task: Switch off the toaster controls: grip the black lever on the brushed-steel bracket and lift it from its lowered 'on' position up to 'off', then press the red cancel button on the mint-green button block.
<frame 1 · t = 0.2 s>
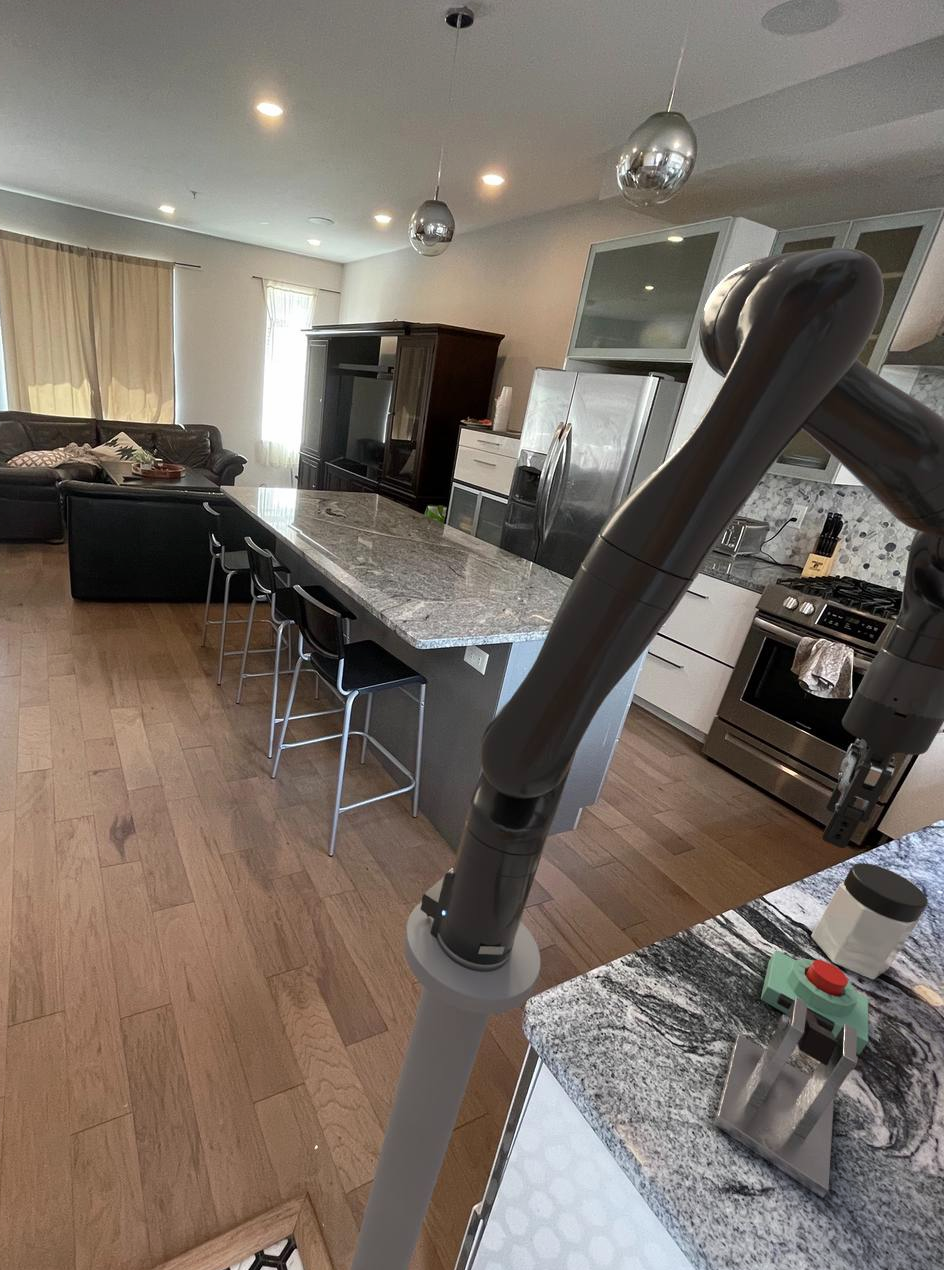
hand: (834, 827, 71), 22 cm above the counter, tool pointing down, fingers open, 8 cm apart
jar: (847, 954, 85), on the counter
button block: (810, 1005, 76), on the counter
cancel button: (826, 977, 74), point 5 cm above the counter, slide at 0.2 cm
lever: (810, 1027, 62), point 8 cm above the counter, hinge at -25.0°
bracket: (773, 1111, 62), on the counter
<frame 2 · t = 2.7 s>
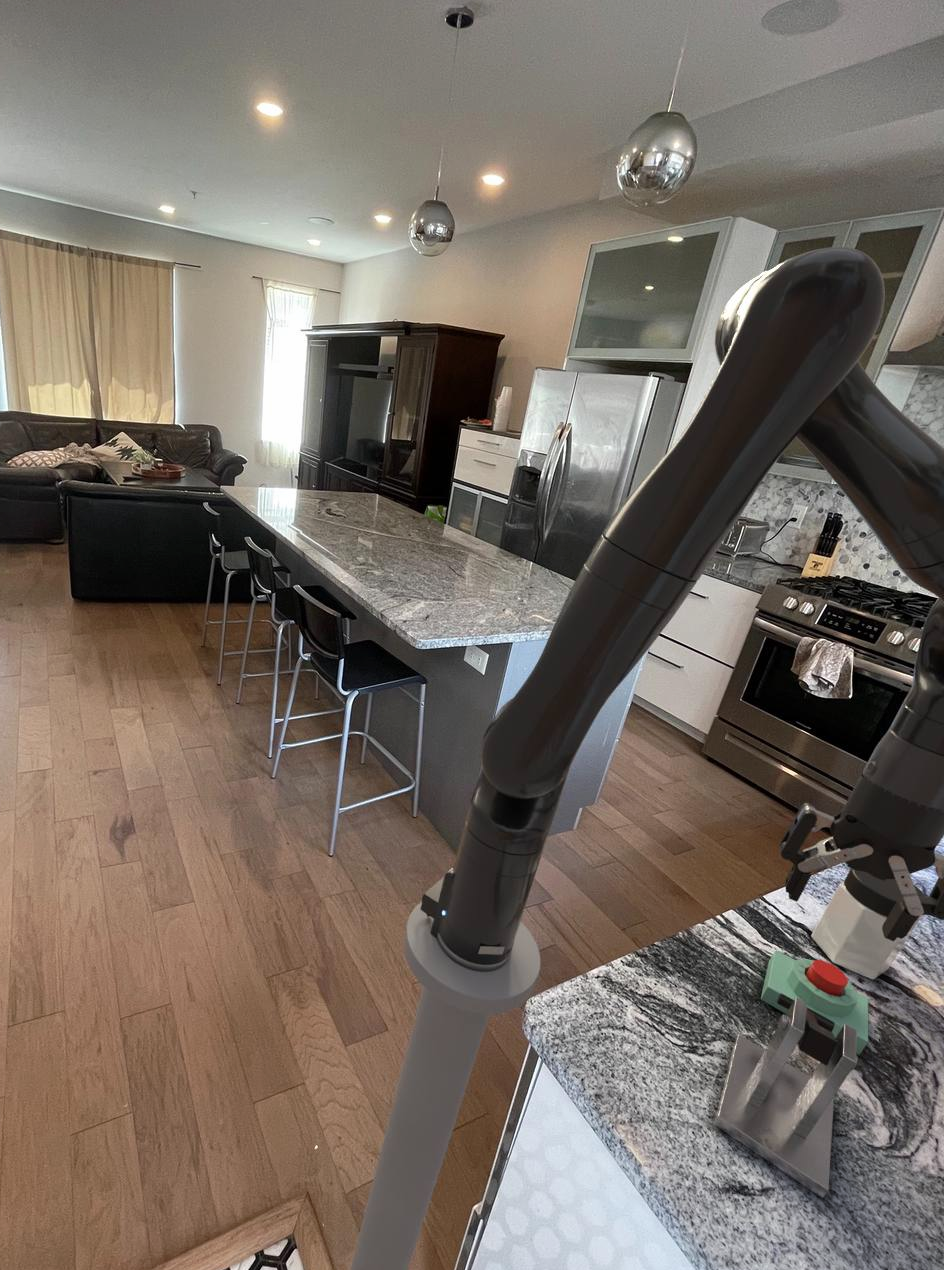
hand: (838, 915, 66), 16 cm above the counter, tool pointing down, fingers open, 8 cm apart
nothing on the counter moved.
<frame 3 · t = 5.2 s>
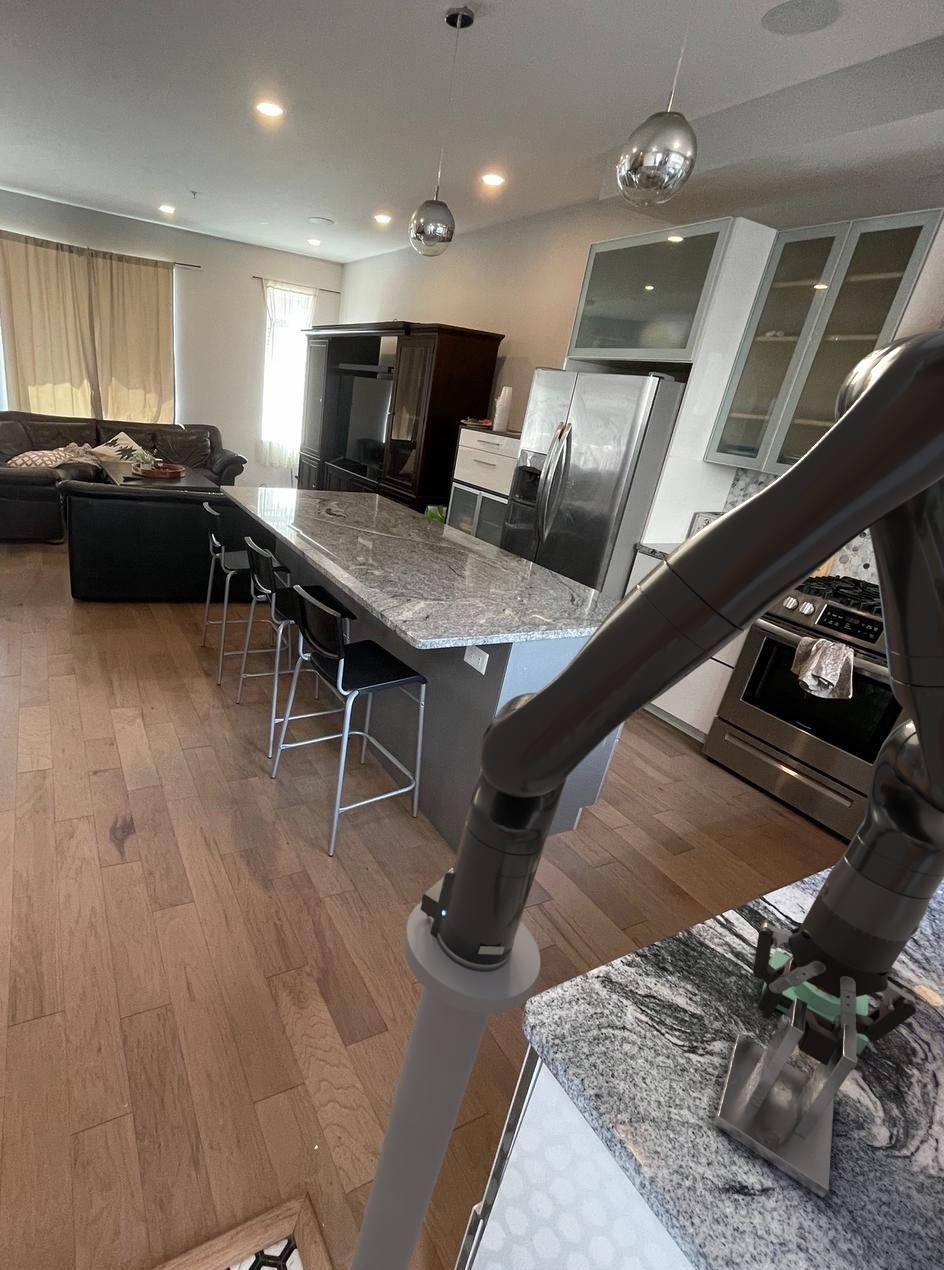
hand: (794, 1029, 68), 3 cm above the counter, tool pointing down, fingers closed on lever, 5 cm apart
lever: (810, 1027, 62), point 8 cm above the counter, hinge at -25.1°, touching gripper
everything else where it was.
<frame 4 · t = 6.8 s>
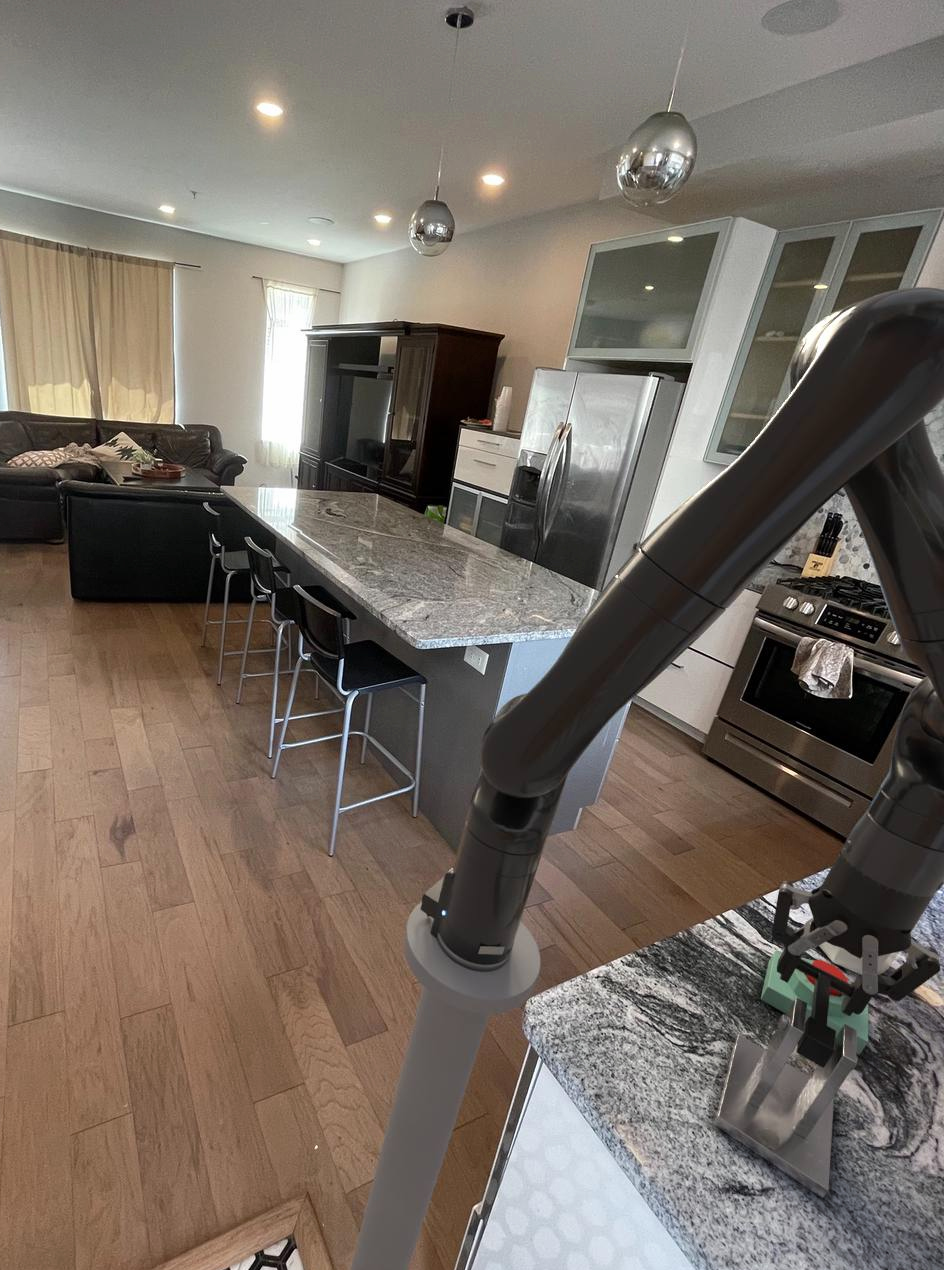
hand: (814, 992, 67), 8 cm above the counter, tool pointing down, fingers closed on lever, 5 cm apart
lever: (819, 1009, 62), point 10 cm above the counter, hinge at 1.5°, touching gripper
everything else where it was.
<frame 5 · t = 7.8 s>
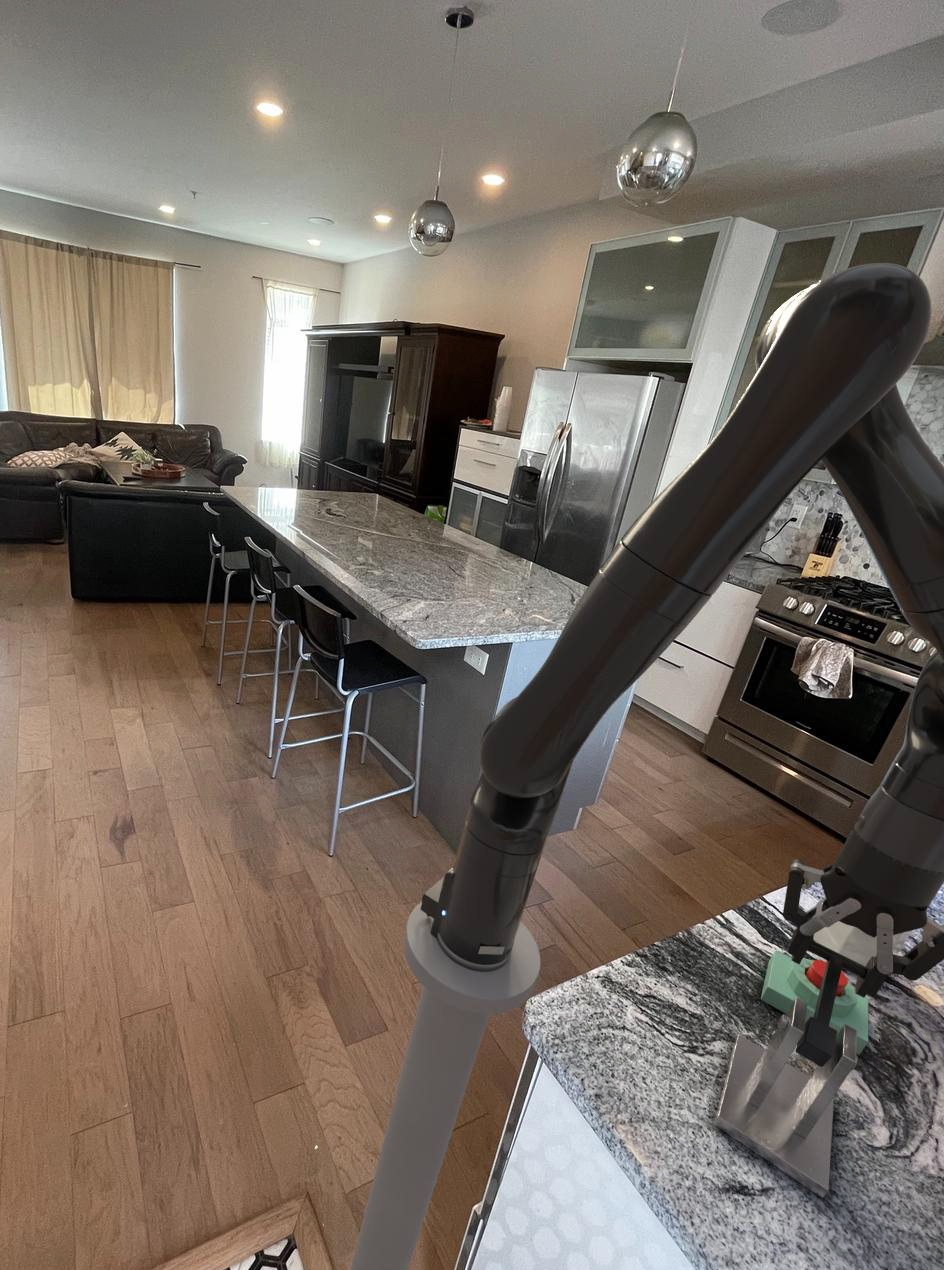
hand: (826, 973, 65), 11 cm above the counter, tool pointing down, fingers closed on lever, 5 cm apart
lever: (825, 1001, 61), point 12 cm above the counter, hinge at 19.2°, touching gripper
everything else where it was.
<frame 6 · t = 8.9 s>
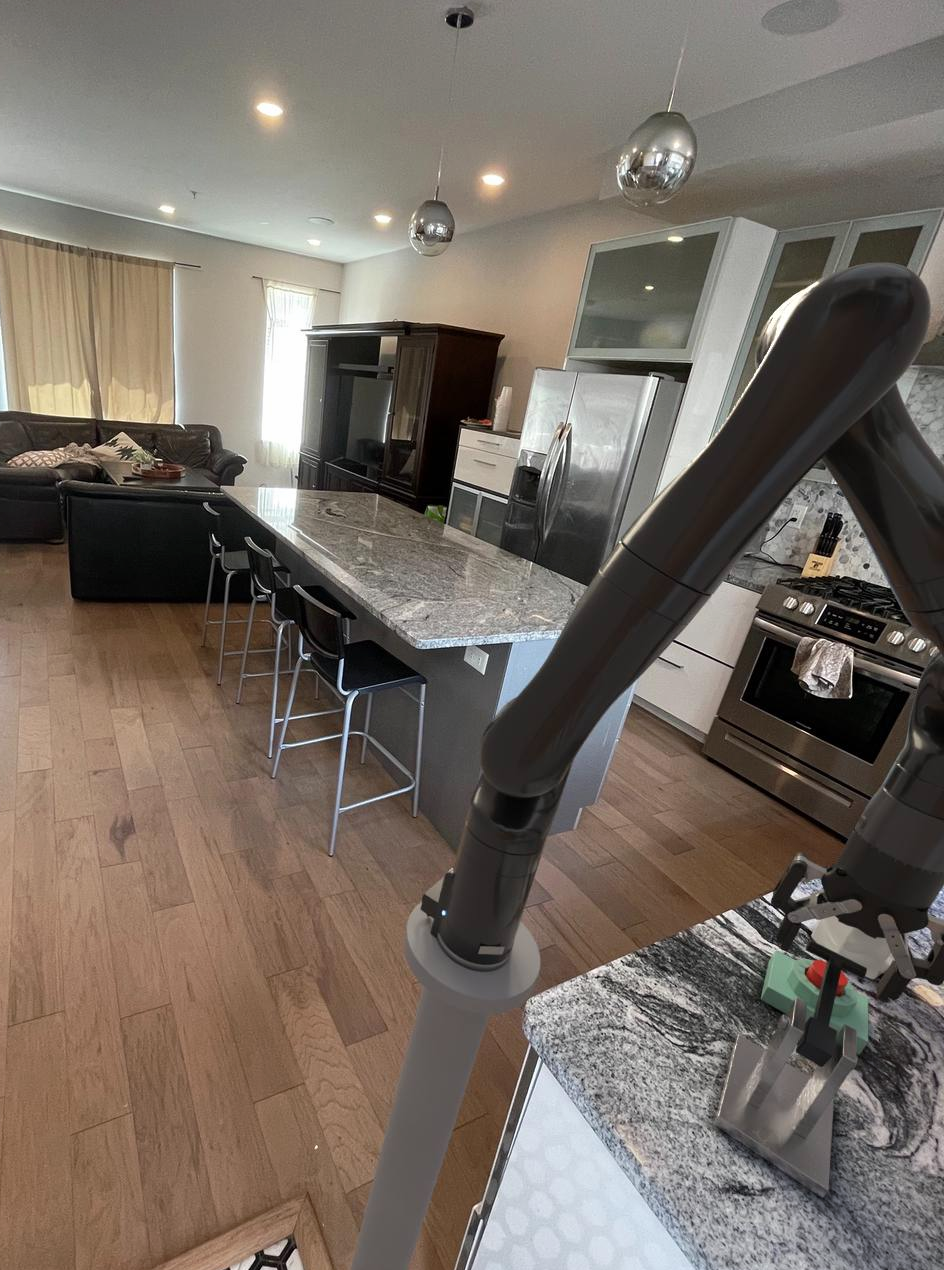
hand: (830, 969, 65), 12 cm above the counter, tool pointing down, fingers open, 8 cm apart
lever: (825, 1001, 61), point 11 cm above the counter, hinge at 18.7°
everything else where it was.
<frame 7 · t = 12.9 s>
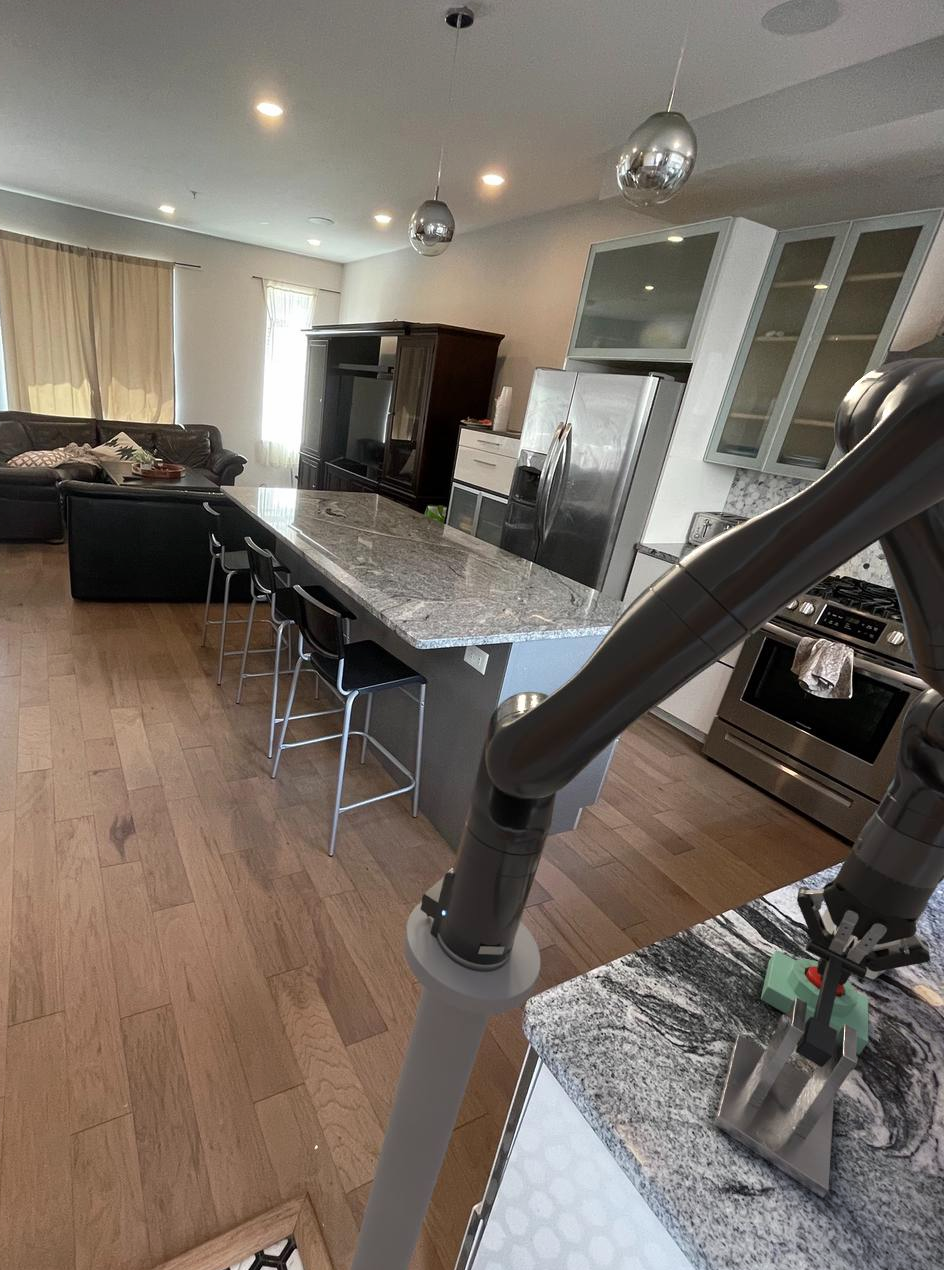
hand: (827, 979, 74), 4 cm above the counter, tool pointing down, fingers closed
cancel button: (823, 983, 74), point 4 cm above the counter, slide at -0.8 cm, touching gripper
everything else where it was.
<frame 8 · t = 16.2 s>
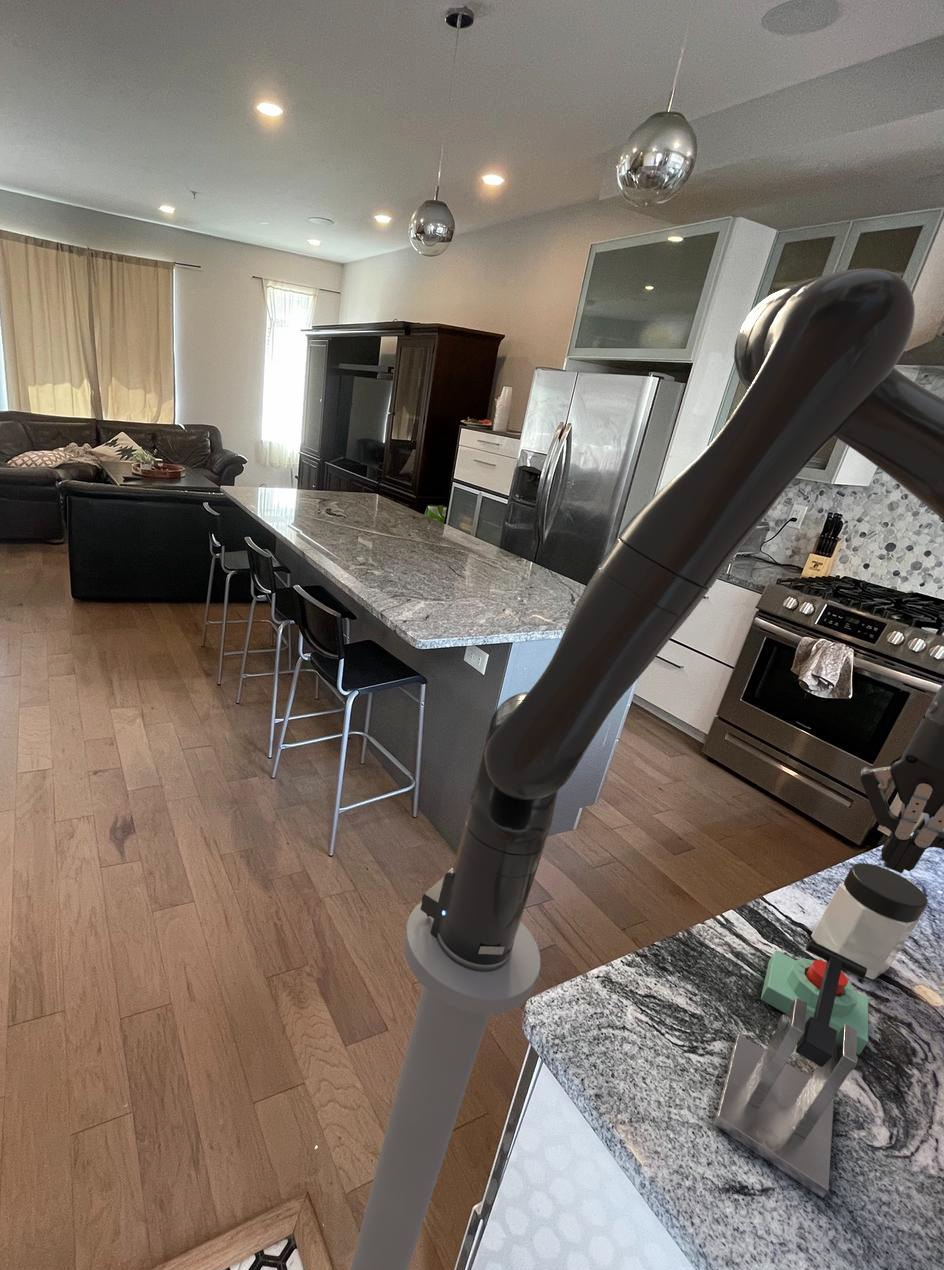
hand: (892, 866, 68), 21 cm above the counter, tool pointing down, fingers closed
cancel button: (826, 977, 74), point 5 cm above the counter, slide at 0.2 cm
everything else where it was.
at the end: lever at +19° (first picture: -25°); cancel button pushed in 1.1 cm at the most during the clip, back to 0.2 cm at the end; cancel button slide at 0.2 cm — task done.
